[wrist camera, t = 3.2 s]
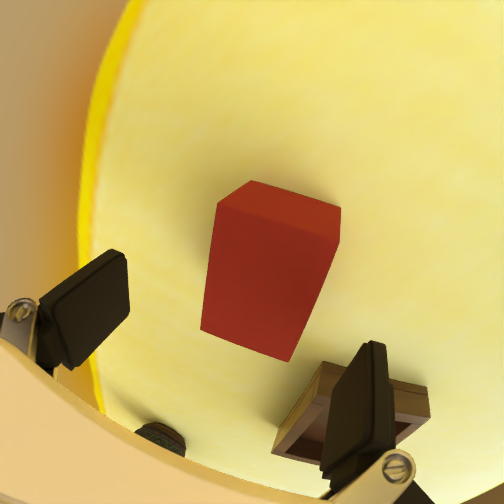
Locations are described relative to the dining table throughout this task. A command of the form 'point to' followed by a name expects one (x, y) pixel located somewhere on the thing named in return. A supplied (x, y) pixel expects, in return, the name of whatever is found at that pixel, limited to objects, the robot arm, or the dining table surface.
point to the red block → (267, 267)
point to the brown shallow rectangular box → (317, 410)
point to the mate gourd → (163, 437)
